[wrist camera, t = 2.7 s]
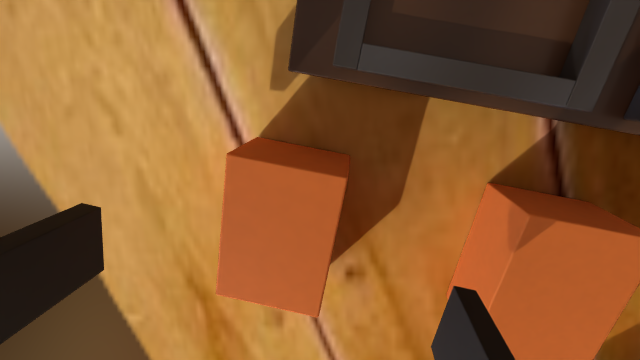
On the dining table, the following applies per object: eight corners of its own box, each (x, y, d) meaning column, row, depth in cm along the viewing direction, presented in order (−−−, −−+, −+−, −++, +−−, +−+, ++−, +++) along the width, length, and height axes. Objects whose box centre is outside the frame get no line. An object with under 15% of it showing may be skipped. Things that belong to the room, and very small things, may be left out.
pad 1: (244, 251, 18) (214, 295, 15) (256, 136, 16) (225, 153, 12) (326, 269, 18) (318, 318, 14) (350, 154, 16) (348, 177, 12)
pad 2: (445, 295, 18) (469, 352, 14) (487, 181, 15) (529, 213, 12) (533, 314, 17) (582, 378, 14) (589, 201, 15) (666, 241, 11)
